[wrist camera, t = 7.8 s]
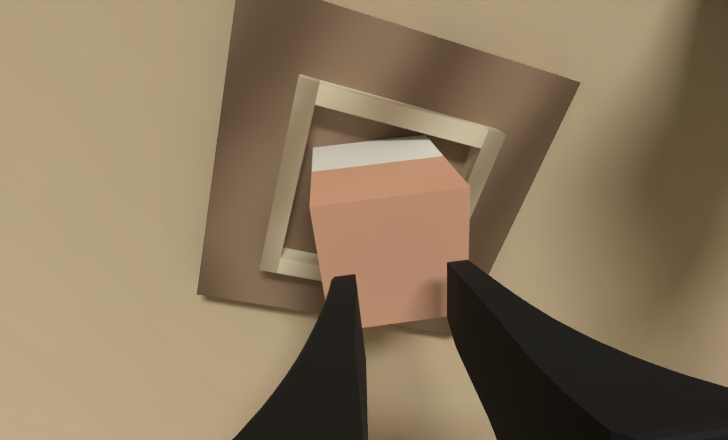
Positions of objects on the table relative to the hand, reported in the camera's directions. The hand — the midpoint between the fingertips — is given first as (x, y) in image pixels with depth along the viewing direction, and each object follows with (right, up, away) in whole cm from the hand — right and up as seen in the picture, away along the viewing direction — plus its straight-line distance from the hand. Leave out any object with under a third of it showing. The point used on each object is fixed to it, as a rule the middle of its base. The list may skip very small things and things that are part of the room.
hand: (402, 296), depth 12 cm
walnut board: (-1, +4, +7) cm, 8 cm away
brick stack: (-1, +3, +6) cm, 7 cm away
